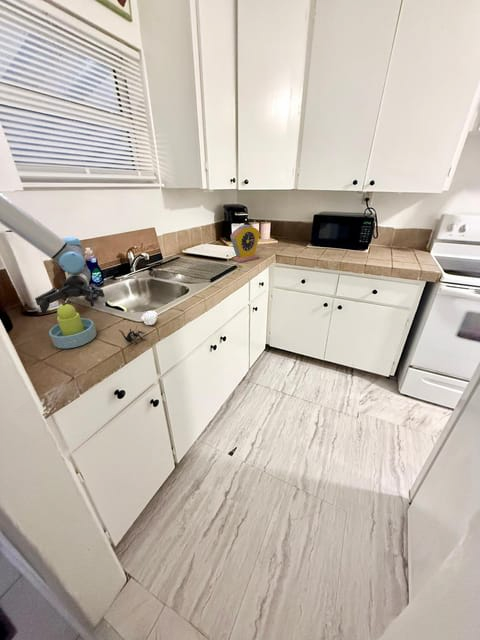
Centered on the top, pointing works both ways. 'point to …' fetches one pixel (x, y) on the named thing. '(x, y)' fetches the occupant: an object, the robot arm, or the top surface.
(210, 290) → the top surface
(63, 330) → the yellow-green bottle
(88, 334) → the bowl
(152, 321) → the dumpling
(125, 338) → the creature
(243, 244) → the yellow mantel clock
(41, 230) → the robot arm
